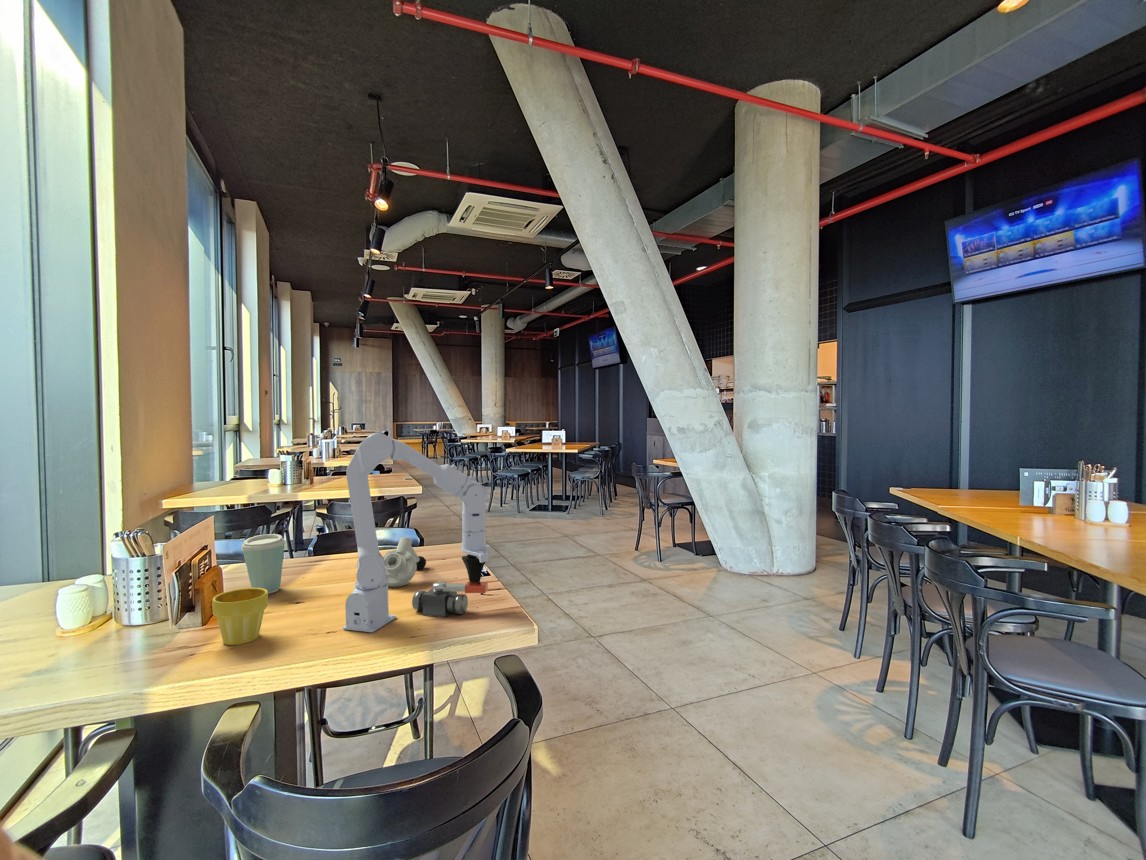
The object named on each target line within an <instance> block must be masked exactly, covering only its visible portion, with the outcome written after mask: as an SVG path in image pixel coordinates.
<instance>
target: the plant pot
mask: <svg viewBox="0 0 1146 860" xmlns="http://www.w3.org/2000/svg"><path fill="white" fill-rule="evenodd" d="M211 601H212V604H211V605H212V606H211V607H212V615H213V616H215V617H216V620H217V624H218V627H219V631H220V632H219V633H220V634H221V638H222V643H223V644H224V645H227V646H239V645H243V644H247V643H250V642H253V641H255V640H256V639H258V638H259V636H260V632H261V627H262V623H263V622H262V621H263V616H264V613H265V610H266V609H267V608H268V606H269V594H268V591H267V590H266V589H263V588H251V587H243V588H236V589H231V590H227V591H224V592H221V593H219V594H217V595H215V596H214V597H213V598H212V600H211Z"/></svg>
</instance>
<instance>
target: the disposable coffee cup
mask: <svg viewBox="0 0 1146 860" xmlns="http://www.w3.org/2000/svg"><path fill="white" fill-rule="evenodd" d="M285 544H286V541H285V539H284V538H283V536H282V535H281V534H277V533H269V534H268V533H267V534H260V535H255V536H252V537H248V538H246V539H245V540H244V541H243V543H242V544H241V548H240V549H241V551H242V553H243V557H244V562H245V566H246V570H247V574H248V578H249V583H250V588H263V589H266V590H267V591H268V595H271V594H273V593H275V592H276V593H277V592H278V591H279V590H280V588H281V582H282V572H283V564H284V553H285Z"/></svg>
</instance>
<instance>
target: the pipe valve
mask: <svg viewBox="0 0 1146 860" xmlns="http://www.w3.org/2000/svg"><path fill="white" fill-rule="evenodd" d="M411 604H412V608H413V610H414V611H415V610H416V611H422V616H429V617H438V618H439V617H440V618H447V617H448V616H449V615H451V614H452V613H454V614H455V615H457V614H458V615H465V613H466V611H467V608H468V605H469V598H468V595H467V594H466V593H458V592H434V591H433V588H431V589H430V590H428V591H426V590H421V589H420V590H419V589H418V590H416V591H415V592H414V593H413V596H412V601H411Z"/></svg>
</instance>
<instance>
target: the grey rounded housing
mask: <svg viewBox="0 0 1146 860" xmlns="http://www.w3.org/2000/svg"><path fill="white" fill-rule="evenodd" d="M412 544H413V539H412V538H409V537H405V536H404V537H400V538H399V541H398V544H397V546H396V549H392V550H387V551H386V552H385V554H384V555H382V556H383V558H384V560H385V568H386V577H385V578H386V579H387V580H388V587H393V588H399V587H402V586H407V585H409V583H410V582H411V580H412V579H413V578H414V576H415V574H416V573H417V571H418V570H419V571H420V570H423V569H424V568H425V567H426V565H427V560H426V558H425V557H423V556H421V555H418V554H417V553H416V551H415V550H414V548H413V546H412Z"/></svg>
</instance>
